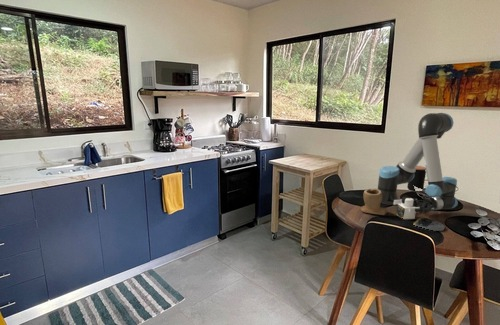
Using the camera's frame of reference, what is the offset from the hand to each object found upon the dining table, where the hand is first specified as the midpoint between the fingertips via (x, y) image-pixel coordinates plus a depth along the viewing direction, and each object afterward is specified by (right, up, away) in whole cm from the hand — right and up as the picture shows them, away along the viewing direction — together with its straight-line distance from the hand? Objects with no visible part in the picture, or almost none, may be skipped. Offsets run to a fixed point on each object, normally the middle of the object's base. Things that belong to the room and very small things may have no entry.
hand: (401, 206), depth 168 cm
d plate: (+11, -10, -10) cm, 17 cm away
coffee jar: (+38, +4, +52) cm, 65 cm away
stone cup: (-13, -6, +7) cm, 16 cm away
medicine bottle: (+4, -7, +3) cm, 8 cm away
